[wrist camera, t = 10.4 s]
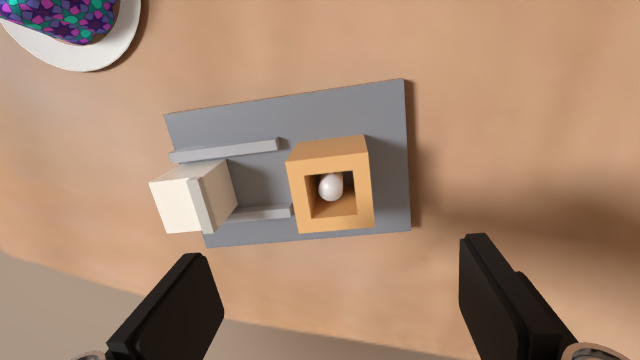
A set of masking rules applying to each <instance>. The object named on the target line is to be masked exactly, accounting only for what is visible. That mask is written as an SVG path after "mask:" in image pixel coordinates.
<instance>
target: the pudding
mask: <svg viewBox="0 0 640 360" xmlns="http://www.w3.org/2000/svg"><path fill="white" fill-rule="evenodd" d="M116 2H117V0H0V22H1V24H2V25H3V26H4V28H5V29H6V30H7V31H8V33H9V34H10V35H11V36H12V37H13V38H14V39H15V40H16V41H17V42H18V43H19V44H20V45H21V46H22V47H24V48H25V49H26V50H28V51H29V52H30V53H31V54H33V55H34V56H36V57H37V58H39V59H41V60H43V61H44V62H46V63H48V64H51V65H53V66H56V67H58V68H61V69H65V70H70V71H81V72H87V71H93V70H98V69H101V68H103V67H106V66H108V65H110V64H111V63H113V62H114V61H115V60H117V59H118V58H120V56H121V55H122V54H123V53H124V52H125V51H126V49H127V48H128V47H129V45H130V43H131V41H132V39H133V38H134V35H135V32H136V29H137V26H138V23H139V17H140V9H141V0H120V9H119V14H118V17H117V21H116V23H115V25H114V27H113V28H112V30H111V31H110V32H109V34H108V35H107V36H106V37H105V38H103V39H102V40H101V41H99V42H97V43H95V44H92V45H88V46H71V45H67V44H63V43H61V42H59V41H56V40H54V39H53V38H51V37H54V38H59V39H62V40H65V41H67V42H70V43H73V44H78V45H85V44H88V43H91V41H92V38H93V36H94V34H105V33H107V32H108V31H109V30H110V29H111V27H112V25H113V22H114V16H113V11H112V6H113V5H114V4H115V3H116ZM49 36H51V37H49Z"/></svg>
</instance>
